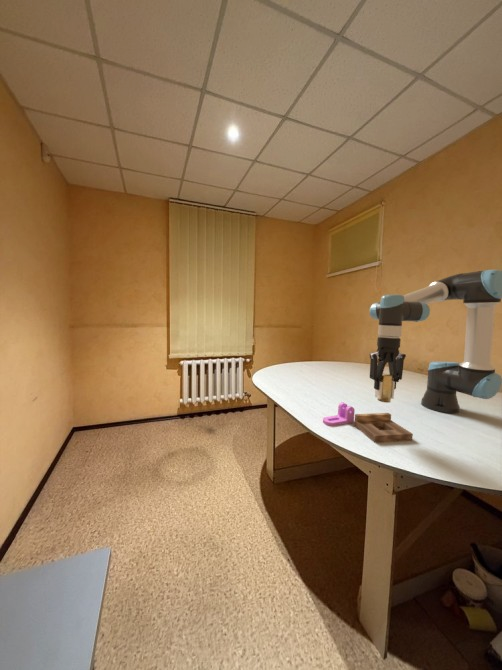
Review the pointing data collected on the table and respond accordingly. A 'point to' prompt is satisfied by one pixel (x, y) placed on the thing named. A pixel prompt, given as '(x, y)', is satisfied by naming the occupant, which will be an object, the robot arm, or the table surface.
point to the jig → (377, 421)
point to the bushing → (386, 388)
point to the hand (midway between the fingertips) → (384, 397)
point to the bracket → (341, 416)
